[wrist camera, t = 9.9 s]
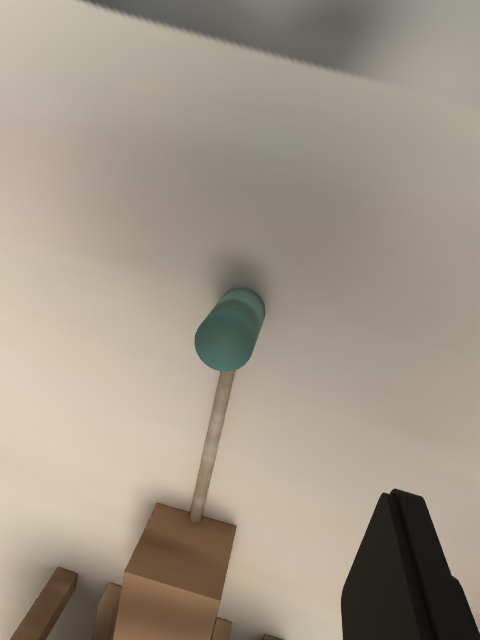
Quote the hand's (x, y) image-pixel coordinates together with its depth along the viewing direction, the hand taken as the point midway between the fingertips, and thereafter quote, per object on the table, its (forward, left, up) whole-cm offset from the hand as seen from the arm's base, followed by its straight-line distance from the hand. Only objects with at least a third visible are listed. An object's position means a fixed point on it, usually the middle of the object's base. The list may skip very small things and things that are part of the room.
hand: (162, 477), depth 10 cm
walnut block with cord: (0, +8, -13) cm, 16 cm away
